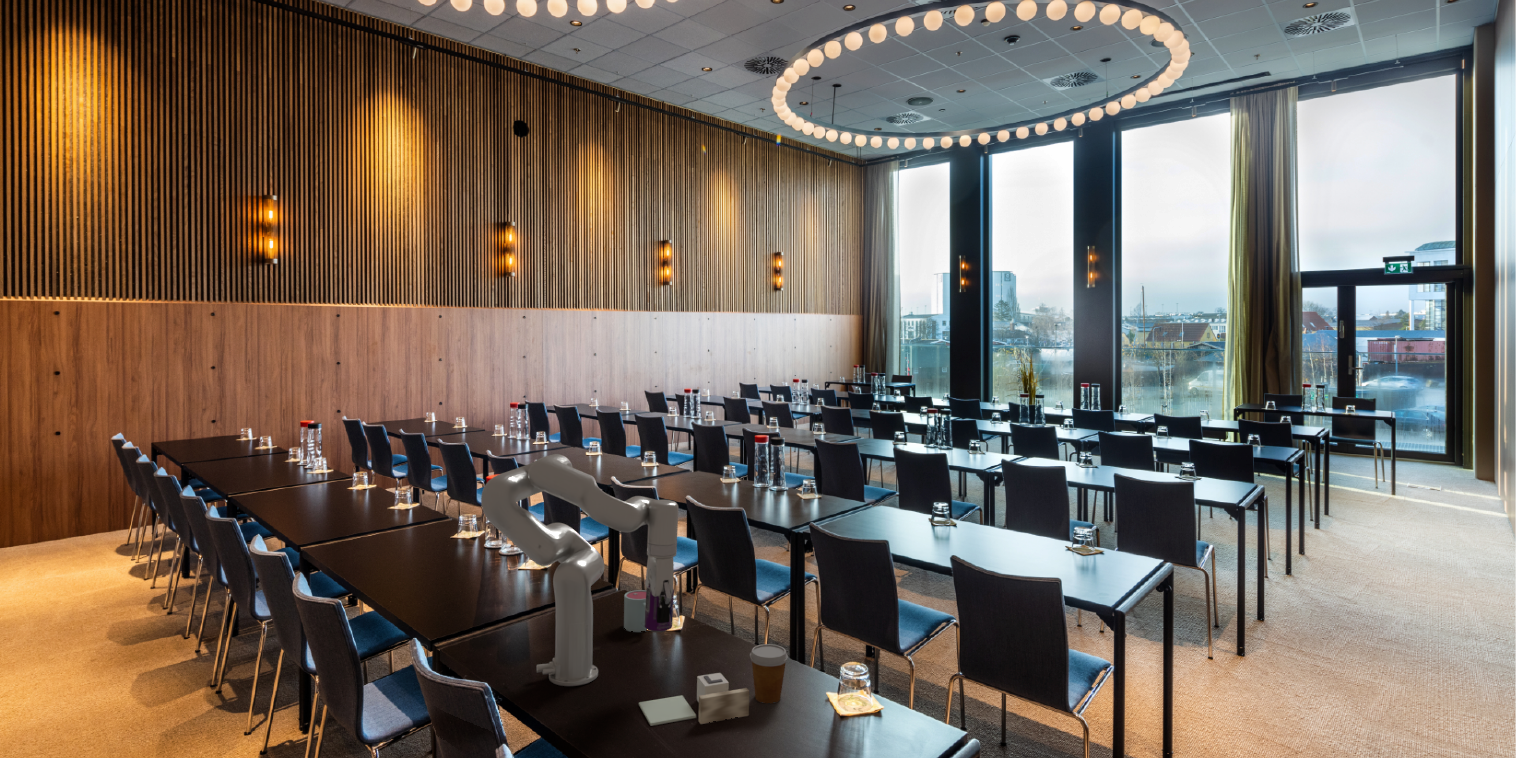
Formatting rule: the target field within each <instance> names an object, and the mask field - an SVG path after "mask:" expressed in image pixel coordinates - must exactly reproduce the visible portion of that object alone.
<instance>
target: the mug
mask: <svg viewBox="0 0 1516 758" xmlns="http://www.w3.org/2000/svg"><path fill="white" fill-rule="evenodd" d="M623 597H624V598H623V599H624V601H623V603H624V604H623V606H624V607H623V612H624V613H623V629H624V628H625V629H626V630H625V629H624V630H625V631H627V632H631V631H633V632H632V633H642V632H641V631H645V632H647V631H646V630H647V629H646V628H645V606H646V589H645V590H643V589H641V590H640V589H639V590H632V591H631V590H630V591H627V592H625V594H624V596H623Z"/></svg>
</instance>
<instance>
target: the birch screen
mask: <svg viewBox="0 0 1516 758" xmlns="http://www.w3.org/2000/svg"><path fill="white" fill-rule="evenodd" d="M749 709H750V690H749V689H748V687H744V688H739V689H733V690H729V691H725V692H719V693H713V694H707V695H701V696H699V702H698V722H699V724H700V725H703V724H710V723H714V722H713V721H716V722H720V721H726V720H725V719H727V720H732V719H736V718H735V717H738V718H742V717H748V716H749V715H750V711H749ZM731 718H732V719H731ZM709 722H710V723H709Z"/></svg>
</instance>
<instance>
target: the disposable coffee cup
mask: <svg viewBox="0 0 1516 758" xmlns="http://www.w3.org/2000/svg"><path fill="white" fill-rule="evenodd" d="M787 653H788V652H787V650H786V648H784V647H783V646H782V645H781V646H780V645H778V644H772V643H771V644H769V643H763V644H759V645H755V646H754V647H753V648H752V649H751V652H750V653H749V657H750V660H751V668H752V678H753V687H754V688H753V689H754V697H755V700H756V701H757V702H759V703H761V702H763V703H762V704H768V703H770V704H774V703H773V702H776V703H778V702H780V700H781V697H782V690H783V683H784V677H785V669H786V663H787V661H788V658H789V656H788V654H787Z"/></svg>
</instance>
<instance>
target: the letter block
mask: <svg viewBox="0 0 1516 758" xmlns="http://www.w3.org/2000/svg"><path fill="white" fill-rule="evenodd" d="M696 678H697V679H696V681H697V683H696V701H697V703H699V696H701V695H707V694H713V693H719V692H725V691H730V690H729V689H730V688H729V686H730V685H729V683H730V682H729V681H728V680H727V679H726V678H725V676H724V675H723V674H722V673H721V672H716V673H709V674H703V675H698V676H697V677H696Z"/></svg>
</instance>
